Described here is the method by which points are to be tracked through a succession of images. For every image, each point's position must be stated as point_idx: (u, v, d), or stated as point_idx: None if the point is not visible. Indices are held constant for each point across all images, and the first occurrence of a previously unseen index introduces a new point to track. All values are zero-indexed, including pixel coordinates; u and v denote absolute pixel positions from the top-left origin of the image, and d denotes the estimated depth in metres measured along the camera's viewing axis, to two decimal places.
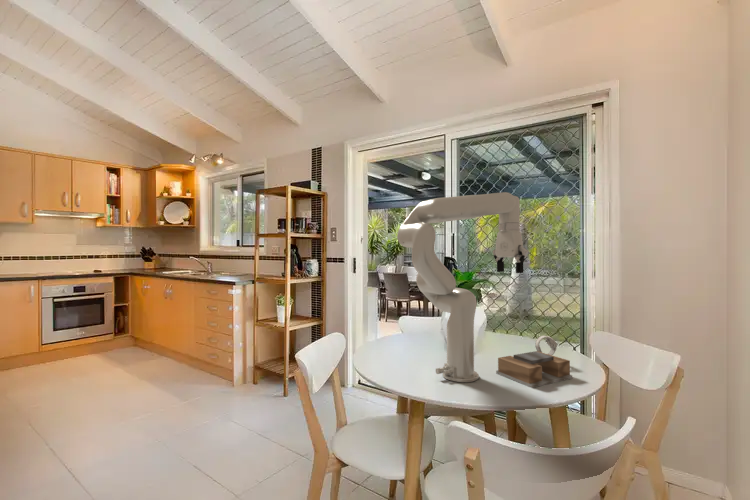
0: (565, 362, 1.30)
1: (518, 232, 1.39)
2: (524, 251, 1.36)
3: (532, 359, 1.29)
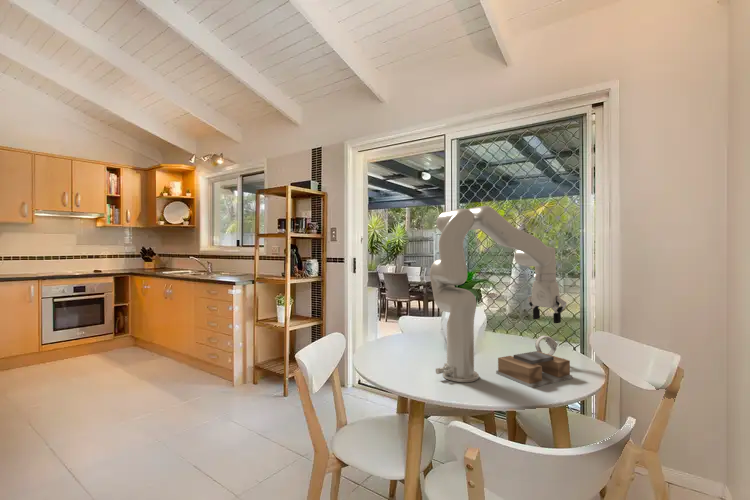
0: (565, 362, 1.30)
1: (555, 283, 1.44)
2: (562, 303, 1.40)
3: (532, 359, 1.29)
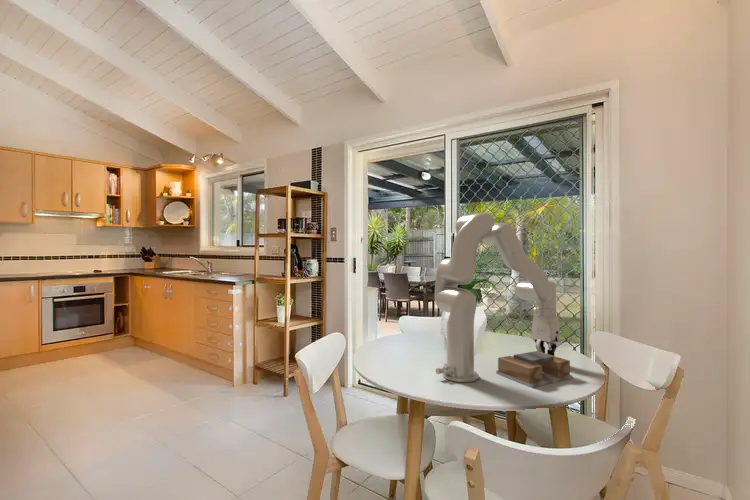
0: (565, 362, 1.30)
1: (555, 318, 1.44)
2: (558, 343, 1.42)
3: (532, 359, 1.29)
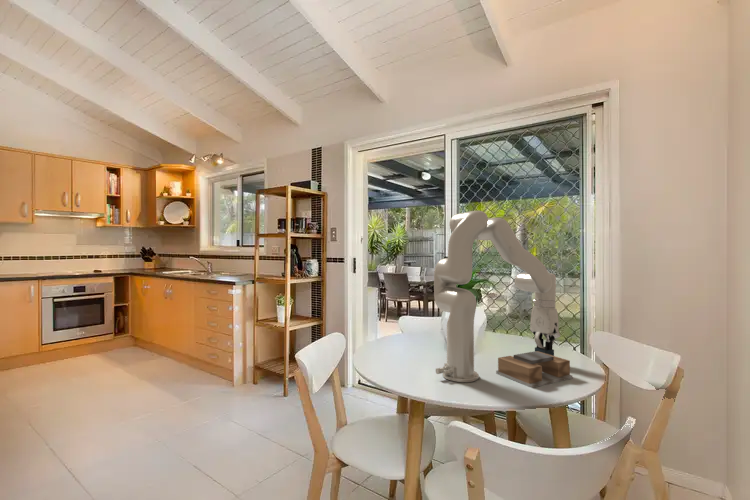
0: (565, 362, 1.30)
1: (554, 310, 1.43)
2: (556, 334, 1.42)
3: (532, 359, 1.29)
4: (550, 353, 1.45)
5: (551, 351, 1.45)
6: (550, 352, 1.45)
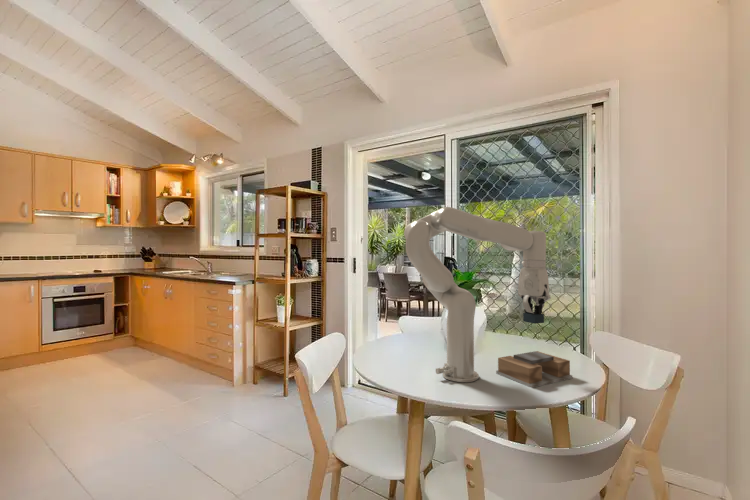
0: (565, 362, 1.30)
1: (544, 270, 1.31)
2: (546, 297, 1.30)
3: (532, 359, 1.29)
4: (540, 318, 1.33)
5: (541, 315, 1.33)
6: (540, 317, 1.33)
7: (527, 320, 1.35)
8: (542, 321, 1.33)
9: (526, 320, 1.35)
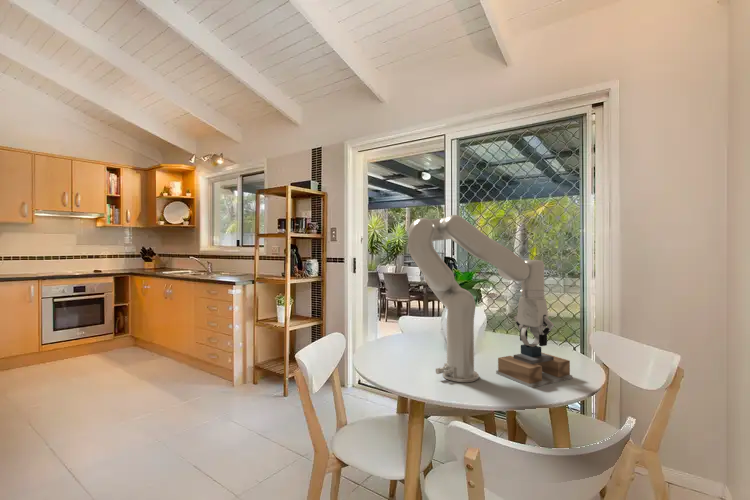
0: (565, 362, 1.30)
1: (543, 300, 1.29)
2: (549, 324, 1.26)
3: (532, 359, 1.29)
4: (537, 351, 1.33)
5: (538, 349, 1.33)
6: (537, 350, 1.33)
7: (524, 353, 1.35)
8: (539, 354, 1.33)
9: (523, 352, 1.35)
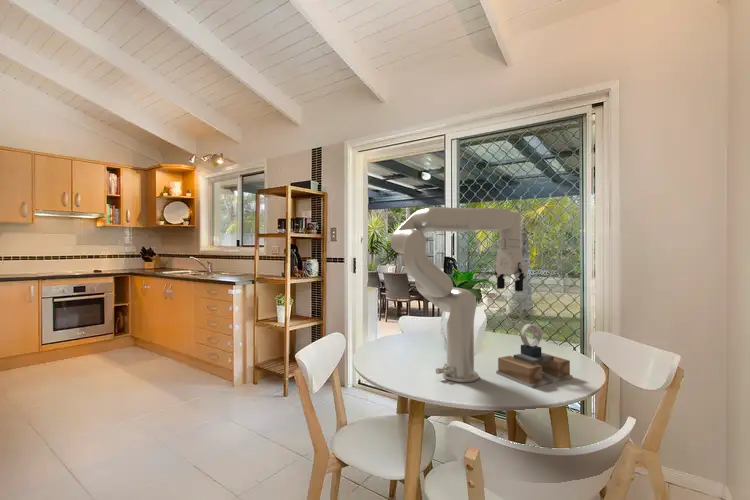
0: (565, 362, 1.30)
1: (518, 249, 1.37)
2: (523, 269, 1.33)
3: (532, 359, 1.29)
4: (537, 351, 1.33)
5: (538, 349, 1.33)
6: (537, 350, 1.33)
7: (524, 353, 1.35)
8: (539, 354, 1.33)
9: (523, 352, 1.35)
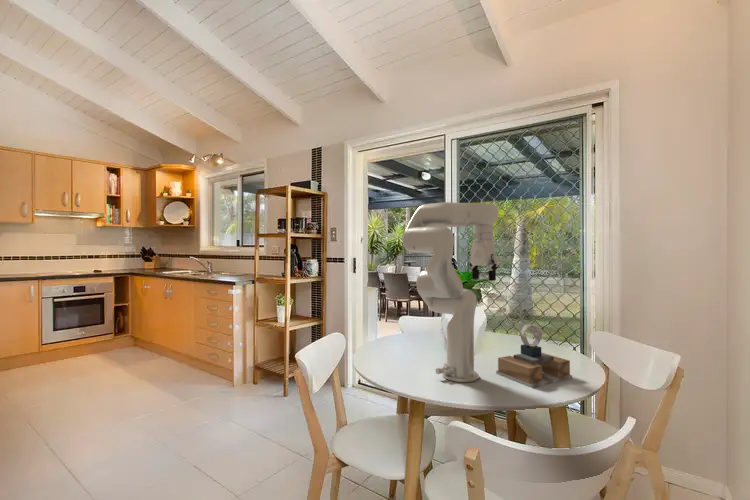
0: (565, 362, 1.30)
1: (491, 242, 1.47)
2: (496, 260, 1.43)
3: (532, 359, 1.29)
4: (537, 351, 1.33)
5: (538, 349, 1.33)
6: (537, 350, 1.33)
7: (524, 353, 1.35)
8: (539, 354, 1.33)
9: (523, 352, 1.35)
